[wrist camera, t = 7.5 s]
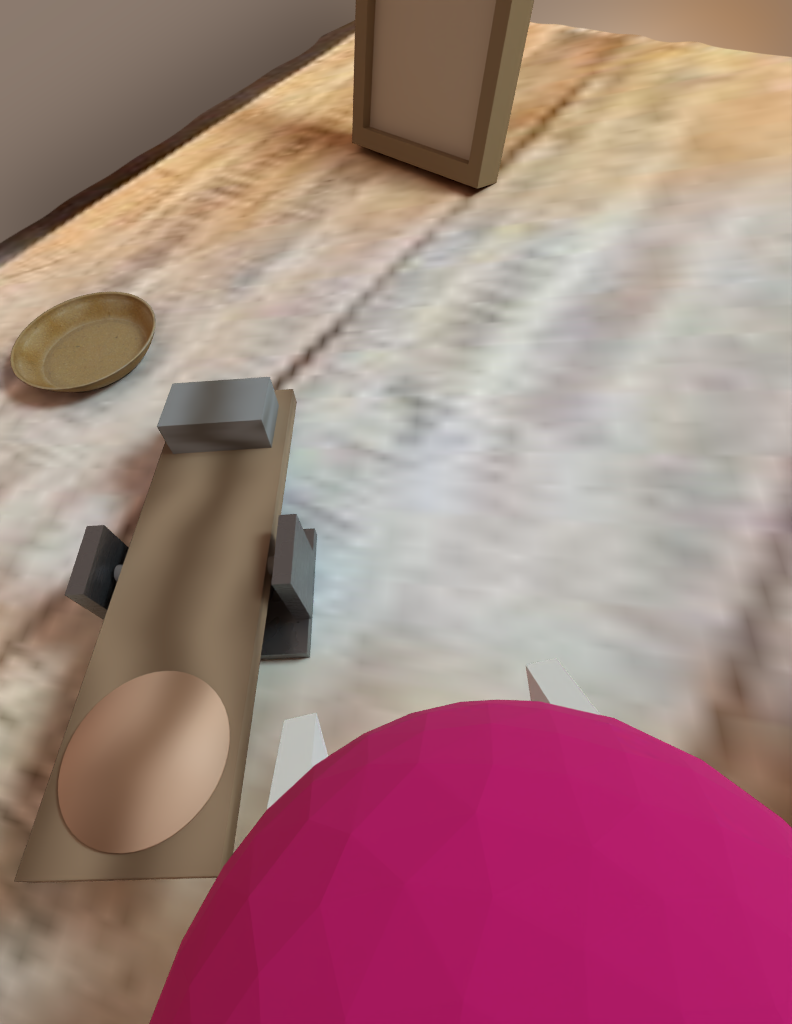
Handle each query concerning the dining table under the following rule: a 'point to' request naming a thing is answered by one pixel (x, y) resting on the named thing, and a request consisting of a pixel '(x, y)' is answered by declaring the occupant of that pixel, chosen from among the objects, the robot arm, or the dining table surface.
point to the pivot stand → (286, 598)
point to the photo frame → (438, 82)
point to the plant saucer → (84, 342)
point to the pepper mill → (498, 885)
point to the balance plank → (175, 654)
